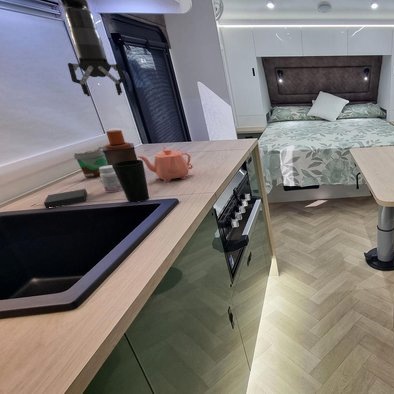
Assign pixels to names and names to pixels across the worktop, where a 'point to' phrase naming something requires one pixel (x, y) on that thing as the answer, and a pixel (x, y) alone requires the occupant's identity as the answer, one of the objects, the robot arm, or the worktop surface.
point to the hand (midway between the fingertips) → (104, 95)
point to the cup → (132, 179)
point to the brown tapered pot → (119, 154)
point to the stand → (66, 198)
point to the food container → (91, 162)
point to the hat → (116, 140)
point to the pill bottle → (109, 179)
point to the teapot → (169, 164)
